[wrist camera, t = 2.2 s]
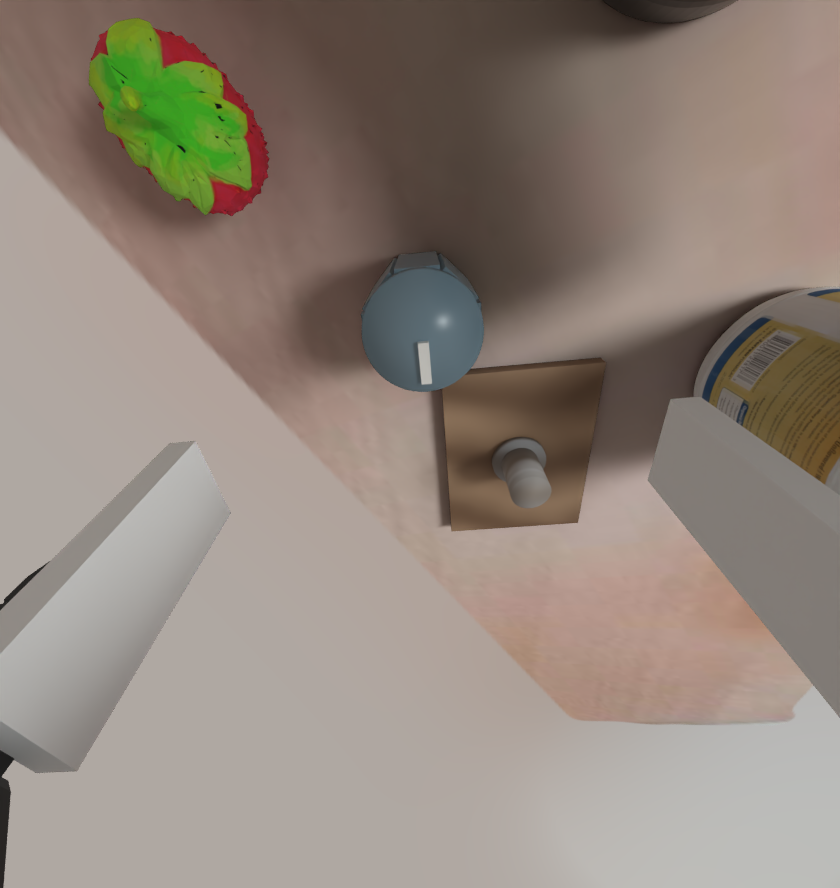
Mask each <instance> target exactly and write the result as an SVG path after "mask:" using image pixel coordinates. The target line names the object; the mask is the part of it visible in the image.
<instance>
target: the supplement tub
mask: <svg viewBox="0 0 840 888" xmlns="http://www.w3.org/2000/svg"><path fill="white" fill-rule="evenodd" d="M694 397H701V398H703V399H704V400H706V401H707V402H708V403H710V404H711V405H713V406H714V407H716V408H717V409H718V410H720V411H721V412H723V413H724V414H725V415H727V416H728V417H730V418H731V419H733V420H734V421H735V422H737V423H738V424H740V425H741V426H742V427H744V428H745V429H747V430H748V431H749V432H751V433H752V434H754V435H755V436H757V437H758V438H759V439H761V440H762V441H764V442H765V443H766V444H768V445H769V446H771V447H772V448H774V449H775V450H776V451H778V452H779V453H781V454H782V455H783V456H785V457H786V458H788V459H789V460H791V461H792V462H793V463H795V464H796V465H798V466H799V467H800V468H802V469H803V470H805V471H806V472H807V473H809V474H810V475H812V476H813V477H815V478H816V479H817V480H819V481H820V482H822V483H823V484H824V485H826V486H827V487H829V488H830V489H832V490H833V491H834V492H836V493H837V494H839V495H840V287H816V288H808V289H803V290H798V291H794V292H790V293H787V294H784V295H781V296H778V297H776V298H773V299H771V300H768V301H766V302H764V303H762V304H760V305H758V306H757V307H755V308H753V309H752V310H750V311H749V312H748V313H746V314H745V315H743V316H742V317H741V318H740V319H738V320H737V321H736V322H735V323H734V324H733V325H732V326H730V327H729V328H728V329H727V330H726V331H725V332H724V333H723V335H722V336H721V337H720V338H719V339H718V340H717V341H716V343H715V344H714V345H713V347H712V348H711V349H710V351H709V352H708V354H707V356H706V357H705V359H704V361H703V363H702V365H701V367H700V369H699V372H698V375H697V378H696V381H695V386H694Z"/></svg>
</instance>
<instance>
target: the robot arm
mask: <svg viewBox="0 0 840 888" xmlns="http://www.w3.org/2000/svg"><path fill="white" fill-rule="evenodd" d="M603 1H604V2H605V3H607V4H608V5H609V6H611V7H612V8H614V9H616V10H617V11H619V12H621V13H623V14H625V15H628V16H630V17H633V18H636V19H640V20H643V21H649V22H656V23H673V22H682V21H687V20H692V19H696V18H699V17H703V16H706V15H708V14H711V13H714V12H716V11H718V10H720V9H723V8H725V7H727V6H729V5H731V4H732V3H734V2H736V1H738V0H603ZM648 481H649V483H650V484H651V485H652V486H653V488H654V489H655V490H656V491H657V493H658V494H659V495H660V496H661V497H662V499H663V500H664V501H665V502H666V504H667V505H668V506H669V507H670V509H671V510H672V511H673V512H674V514H675V515H676V516H677V517H678V518H679V520H680V521H681V522H682V523H683V525H684V526H685V527H686V528H687V530H688V531H689V532H690V533H691V535H692V536H693V537H694V538H695V539H696V541H697V542H698V543H699V544H700V546H701V547H702V548H703V549H704V551H705V552H706V553H707V554H708V555H709V557H710V558H711V559H712V560H713V562H714V563H715V564H716V565H717V567H718V568H719V569H720V570H721V572H722V573H723V574H724V575H725V576H726V578H727V579H728V580H729V581H730V583H731V584H732V585H733V586H734V588H735V589H736V590H737V591H738V593H739V594H740V595H741V596H742V597H743V599H744V600H745V601H746V602H747V604H748V605H749V606H750V607H751V609H752V610H753V611H754V612H755V614H756V615H757V616H758V617H759V618H760V620H761V621H762V622H763V623H764V625H765V626H766V627H767V628H768V630H769V631H770V632H771V633H772V635H773V636H774V637H775V638H776V639H777V641H778V642H779V643H780V644H781V646H782V647H783V648H784V649H785V651H786V652H787V653H788V654H789V656H790V657H791V658H792V659H793V660H794V662H795V663H796V664H797V665H798V667H799V668H800V669H801V670H802V672H803V673H804V674H805V675H806V677H807V678H808V679H809V680H810V681H811V683H812V684H813V685H814V686H815V688H816V689H817V690H818V691H819V692H820V694H821V695H822V696H823V698H824V699H825V700H826V701H827V702H828V704H829V705H830V706H831V707H832V709H833V710H834V711H835V712H836V714H837V715H838V716H839V717H840V495H839V494H837V493H836V492H834V491H833V490H832V489H830V488H829V487H827V486H826V485H824V484H823V483H822V482H820V481H819V480H817V479H816V478H815V477H813V476H812V475H810V474H809V473H807V472H806V471H805V470H803V469H802V468H800V467H799V466H798V465H796V464H795V463H793V462H792V461H791V460H789V459H788V458H786V457H785V456H783V455H782V454H781V453H779V452H778V451H776V450H775V449H774V448H772V447H771V446H769V445H768V444H766V443H765V442H764V441H762V440H761V439H759V438H758V437H757V436H755V435H754V434H752V433H751V432H749V431H748V430H747V429H745V428H744V427H742V426H741V425H740V424H738V423H737V422H735V421H734V420H733V419H731V418H730V417H728V416H727V415H725V414H724V413H723V412H721V411H720V410H718V409H717V408H716V407H714V406H713V405H711V404H710V403H708V402H707V401H706V400H704V399H703V398H701V397H688V398H677V399H670V402H669V406H668V409H667V413H666V416H665V420H664V424H663V427H662V431H661V434H660V438H659V442H658V445H657V449H656V452H655V456H654V459H653V463H652V467H651V470H650V474H649V477H648ZM230 514H231V512H230V510H229V508H228V506H227V504H226V502H225V500H224V498H223V496H222V494H221V492H220V490H219V488H218V486H217V484H216V482H215V480H214V477H213V476H212V473H211V471H210V469H209V467H208V465H207V463H206V461H205V459H204V457H203V455H202V453H201V451H200V449H199V447H198V445H197V443H196V441H190V442H179V443H170V444H169V445H168V446H167V447H165V448H164V449H163V450H162V451H161V452H160V453H159V454H158V455H157V457H156V458H154V459H153V460H152V461H151V462H150V463H149V465H147V466H146V467H145V468H144V469H143V470H142V471H141V472H140V473H139V474H138V475H137V476H136V477H135V478H134V479H133V480H132V481H131V482H130V483H129V484H128V485H127V486H126V487H125V488H124V489H123V490H122V491H121V492H120V493H119V494H118V495H117V496H116V497H115V498H114V499H113V500H112V501H111V502H110V503H109V504H108V505H107V506H106V507H105V508H104V509H103V510H102V511H101V512H100V513H99V514H98V515H97V516H96V517H95V518H93V519H92V521H90V522H89V523H88V524H87V525H86V526H85V527H84V529H82V530H81V532H79V533H78V534H77V535H76V536H75V537H74V538H73V539H72V540H71V541H70V542H69V543H68V544H67V545H66V546H65V547H64V548H63V549H62V550H61V551H60V552H59V553H58V554H57V555H56V556H55V557H54V558H53V559H52V560H51V561H49V562H48V563H47V564H45V565H44V566H43V567H41V568H39V569H38V570H37V571H35V572H34V573H32V574H31V575H29V576H28V577H27V578H26V579H25V580H24V581H23V582H22V583H21V584H20V585H19V586H17V587H16V588H15V589H14V590H13V591H12V592H11V593H10V594H9V595H8V596H7V597H6V598H5V599H4V603H3V604H0V888H3V883H4V871H5V858H6V845H7V833H8V819H9V807H10V794H11V791H10V787H9V782H8V781H7V780H6V779H4V778H2V775H3V774H4V772H5V771H6V770H7V768H8V767H9V765H10V764H11V763H12V761H13V760H15V761H17V762H19V763H20V764H22V765H24V766H25V767H27V768H29V769H30V770H32V771H34V772H35V773H45V772H68V771H77V770H78V769H79V767H80V765H81V763H82V762H83V760H84V758H85V757H86V755H87V753H88V752H89V750H90V748H91V747H92V745H93V743H94V742H95V740H96V738H97V737H98V735H99V733H100V732H101V730H102V728H103V727H104V725H105V723H106V722H107V720H108V718H109V716H110V715H111V713H112V712H113V710H114V708H115V706H116V705H117V703H118V701H119V700H120V698H121V696H122V695H123V693H124V691H125V690H126V688H127V686H128V685H129V683H130V681H131V680H132V678H133V676H134V675H135V673H136V671H137V669H138V668H139V666H140V664H141V663H142V661H143V659H144V658H145V656H146V654H147V653H148V651H149V649H150V648H151V646H152V644H153V643H154V641H155V639H156V637H157V636H158V634H159V633H160V631H161V629H162V628H163V626H164V624H165V623H166V621H167V619H168V617H169V616H170V614H171V612H172V611H173V609H174V607H175V606H176V604H177V602H178V601H179V599H180V597H181V596H182V594H183V592H184V591H185V589H186V587H187V585H188V584H189V582H190V581H191V579H192V577H193V575H194V574H195V572H196V571H197V569H198V567H199V565H200V564H201V562H202V560H203V559H204V557H205V555H206V554H207V552H208V550H209V549H210V547H211V545H212V543H213V542H214V540H215V539H216V537H217V535H218V534H219V532H220V530H221V528H222V527H223V525H224V523H225V522H226V520H227V519H228V517H229V515H230Z"/></svg>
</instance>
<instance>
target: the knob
mask: <svg viewBox="0 0 840 888" xmlns="http://www.w3.org/2000/svg"><path fill="white" fill-rule="evenodd" d="M362 309H363V311H362V313H361V318H362V342H363V346H364V350H365V352H366V355H367V357H368V359H369V361H370V363H371V364H372V366H373V367H374V368H375V370H376V371H377V372H378V373H379V374H380V375H381V376H382V377H383V378H385V379H386V380H387V381H389V382H390V383H392V384H394V385H396V386H398V387H400V388H403V389H406V390H411V391H418V392H428V391H434V390H438V389H442V388H445V387H447V386H449V385H451V384H453V383H455V382H456V381H458V380H459V379H460V378H462V377H463V376H464V375H465V374H466V373H467V372H468V371H469V370H470V368H471V367H472V366H473V364H474V363H475V361H476V359H477V357H478V355H479V353H480V350H481V347H482V343H483V336H484V325H483V318H482V314H481V302H480V300H479V297H478V295H477V294H476V292H475V290H474V289H473V287H472V285H471V284H470V282H469V280H468V279H467V277H466V276H464V275H463V274H462V273H461V272H460V271H459V270H458V269H457V268H456V267H455V266H454V265H453V264H452V263H451V262H450V261H449V260H448V259H446V258H445V257H444V256H443V255H442V254H441V253H440V254H439V255H438V256H437V253H436V251H431V252H422V253H412V254H402V255H399V256H398V259H396V258H394V259H393V261H392V262H391V263H390V265H389V266H388V267H387V269H386V270H385V272H384V273H383V274H382V276H381V277H380V279H379V280H378V281H377V283H376V284H375V285H374V287H373V289H372V291H371V293H370V295H369V297H368V298H367V300H366V302H365V304H364V306H363V308H362Z"/></svg>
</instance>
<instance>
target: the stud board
mask: <svg viewBox="0 0 840 888" xmlns="http://www.w3.org/2000/svg"><path fill="white" fill-rule="evenodd" d="M605 366H606V362H605V361H604V360H603V359H602V358H591V359H580V360H569V361H557V362H546V363H534V364H523V365H512V366H500V367H489V368H478V369H470V370H469V371H468V372H467V373H466V374H465V375H464V376H463V377H462V378H460V379H459V380H458V381H456V382H455V383H453V384H451V385H449V386H447V387H445V388H442V398H443V413H444V428H445V443H446V458H447V473H448V487H449V502H450V517H451V530H452V531H463V530H478V529H492V528H507V527H522V526H536V525H551V524H566V523H578V519H579V513H580V507H581V502H582V496H583V491H584V485H585V479H586V474H587V468H588V462H589V457H590V451H591V445H592V440H593V434H594V428H595V423H596V417H597V411H598V406H599V400H600V394H601V389H602V383H603V378H604V372H605Z"/></svg>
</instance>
